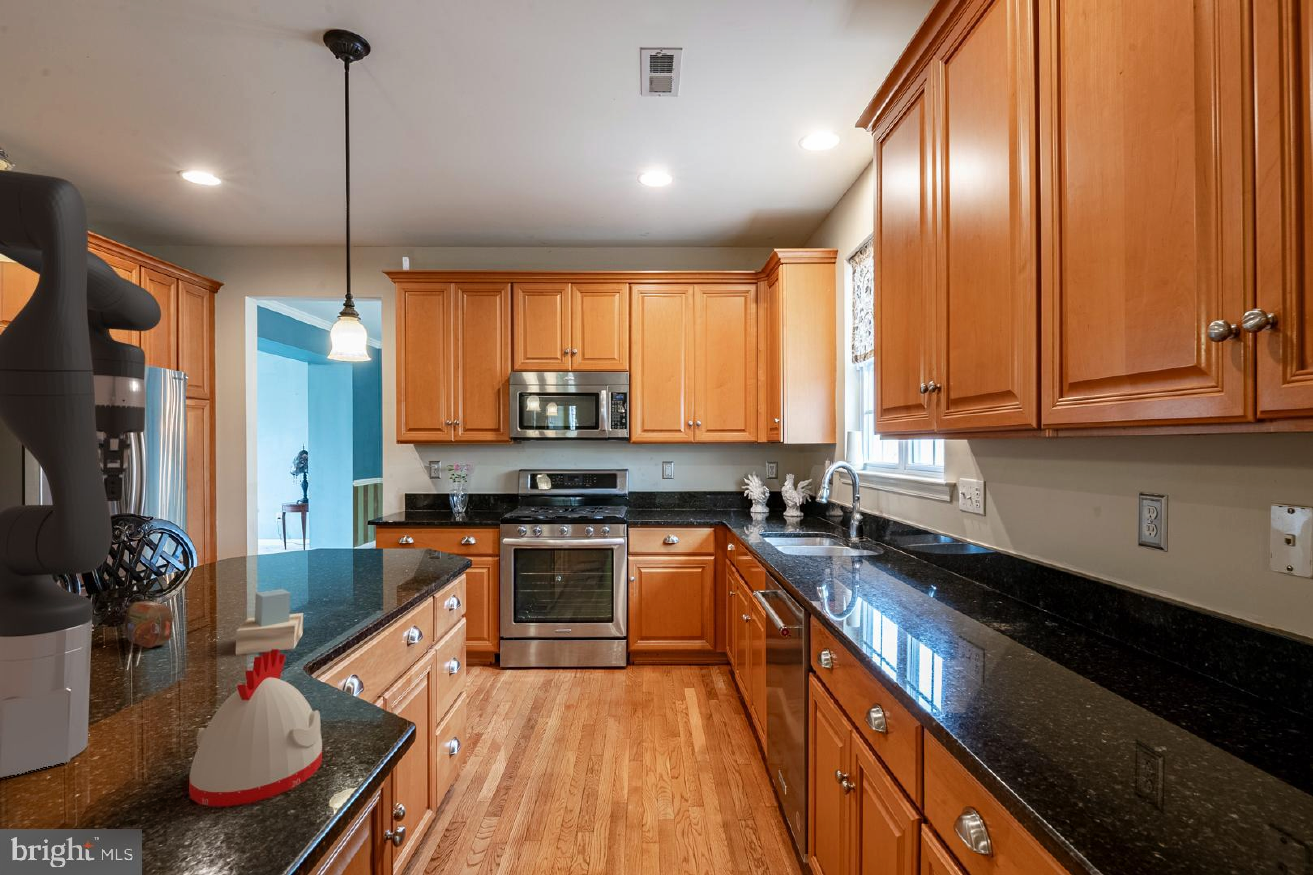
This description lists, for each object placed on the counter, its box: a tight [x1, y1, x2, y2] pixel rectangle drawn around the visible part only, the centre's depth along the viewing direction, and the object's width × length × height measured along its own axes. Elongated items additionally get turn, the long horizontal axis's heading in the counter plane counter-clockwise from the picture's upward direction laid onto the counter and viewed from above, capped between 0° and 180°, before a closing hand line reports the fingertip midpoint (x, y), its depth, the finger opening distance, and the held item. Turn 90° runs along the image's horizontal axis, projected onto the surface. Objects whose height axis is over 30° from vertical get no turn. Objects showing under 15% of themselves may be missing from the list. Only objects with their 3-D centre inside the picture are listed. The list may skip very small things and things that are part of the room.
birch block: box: [235, 612, 304, 656], centre depth 122 cm, size 10×10×5 cm
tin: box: [124, 600, 174, 649], centre depth 122 cm, size 15×3×8 cm, turn 62°
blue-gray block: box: [254, 588, 291, 626], centre depth 122 cm, size 5×5×6 cm
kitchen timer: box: [188, 649, 323, 807], centre depth 74 cm, size 14×14×15 cm
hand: (112, 499), depth 99 cm, fingers open, 8 cm apart
